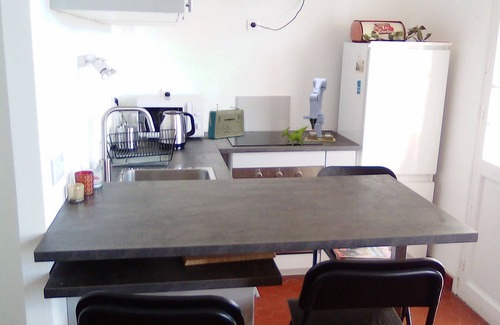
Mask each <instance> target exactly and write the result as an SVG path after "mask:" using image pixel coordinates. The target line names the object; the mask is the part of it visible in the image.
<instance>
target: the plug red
mask: <svg viewBox="0 0 500 325" xmlns="http://www.w3.org/2000/svg"><path fill="white" fill-rule="evenodd" d="M309 134H310V135H309V136H316V131H315V130H312V129H311V130H309Z"/></svg>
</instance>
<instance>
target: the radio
mask: <svg viewBox="0 0 500 325" xmlns="http://www.w3.org/2000/svg"><path fill="white" fill-rule="evenodd" d="M218 105H219V104H218V103H216V110H214V108H212V109H211V110H209V114H208V124H207V137H208V138H209V139H212V140H223V139H230V138H239V137H240V138H241V137H244V136H245V133H246V131H245V112H244V109H242V108H241V109H240V108H238V107H234V106H231V108H232V109H222V110H218V108H219V109H220V108H221V106H220V107H218Z"/></svg>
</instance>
